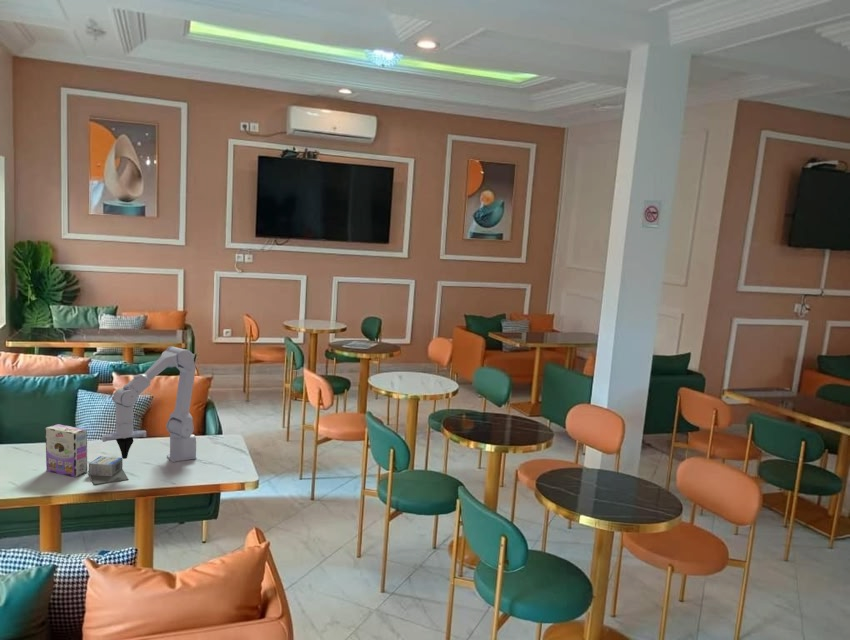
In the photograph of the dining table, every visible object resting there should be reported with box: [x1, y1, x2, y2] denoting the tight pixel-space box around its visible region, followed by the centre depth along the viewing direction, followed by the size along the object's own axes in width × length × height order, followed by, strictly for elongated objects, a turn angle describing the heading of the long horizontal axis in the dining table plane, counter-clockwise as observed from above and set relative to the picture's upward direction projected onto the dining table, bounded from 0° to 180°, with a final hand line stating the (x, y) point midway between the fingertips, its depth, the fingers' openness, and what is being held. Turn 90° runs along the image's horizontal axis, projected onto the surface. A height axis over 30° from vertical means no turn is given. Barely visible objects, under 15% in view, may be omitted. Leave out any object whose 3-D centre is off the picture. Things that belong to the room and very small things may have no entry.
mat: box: [87, 468, 129, 486], centre depth 236 cm, size 11×14×1 cm
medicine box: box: [88, 455, 124, 476], centre depth 238 cm, size 8×4×9 cm
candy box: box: [44, 423, 88, 478], centre depth 236 cm, size 14×6×16 cm, turn 71°
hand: (124, 457), depth 238 cm, fingers closed
